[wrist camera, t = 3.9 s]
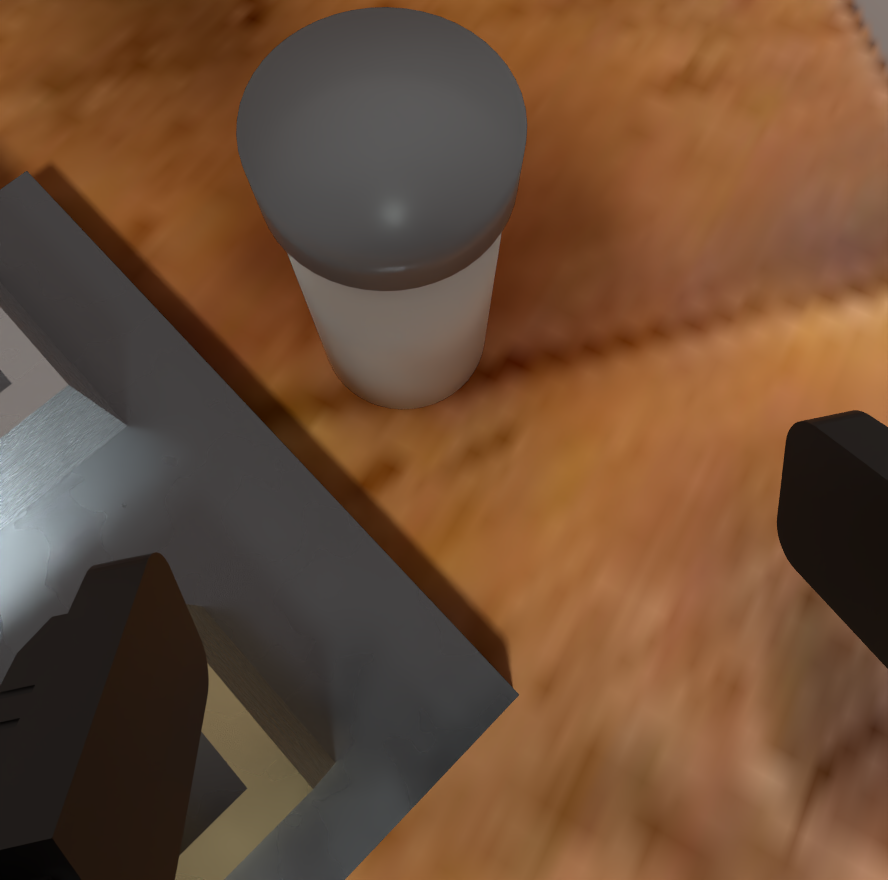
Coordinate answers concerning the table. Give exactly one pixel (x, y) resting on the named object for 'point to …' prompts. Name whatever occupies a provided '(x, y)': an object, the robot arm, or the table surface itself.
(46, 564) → the plate
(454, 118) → the grey and white cylinder
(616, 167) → the table surface
